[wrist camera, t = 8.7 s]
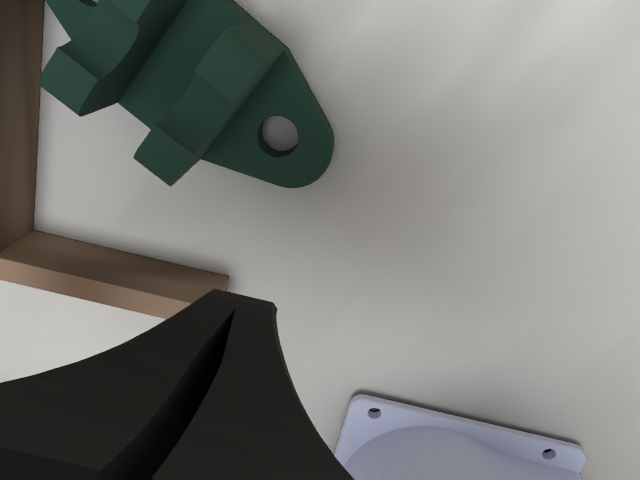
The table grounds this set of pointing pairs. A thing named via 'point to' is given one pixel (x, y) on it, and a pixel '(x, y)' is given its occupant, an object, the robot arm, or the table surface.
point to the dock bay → (19, 196)
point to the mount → (190, 85)
